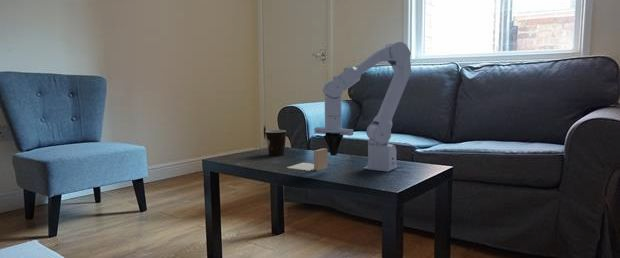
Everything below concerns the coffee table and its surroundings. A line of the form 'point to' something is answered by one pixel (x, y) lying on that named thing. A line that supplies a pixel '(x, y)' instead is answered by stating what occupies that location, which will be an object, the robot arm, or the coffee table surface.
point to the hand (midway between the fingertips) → (333, 155)
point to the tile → (320, 159)
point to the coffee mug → (276, 142)
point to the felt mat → (303, 166)
